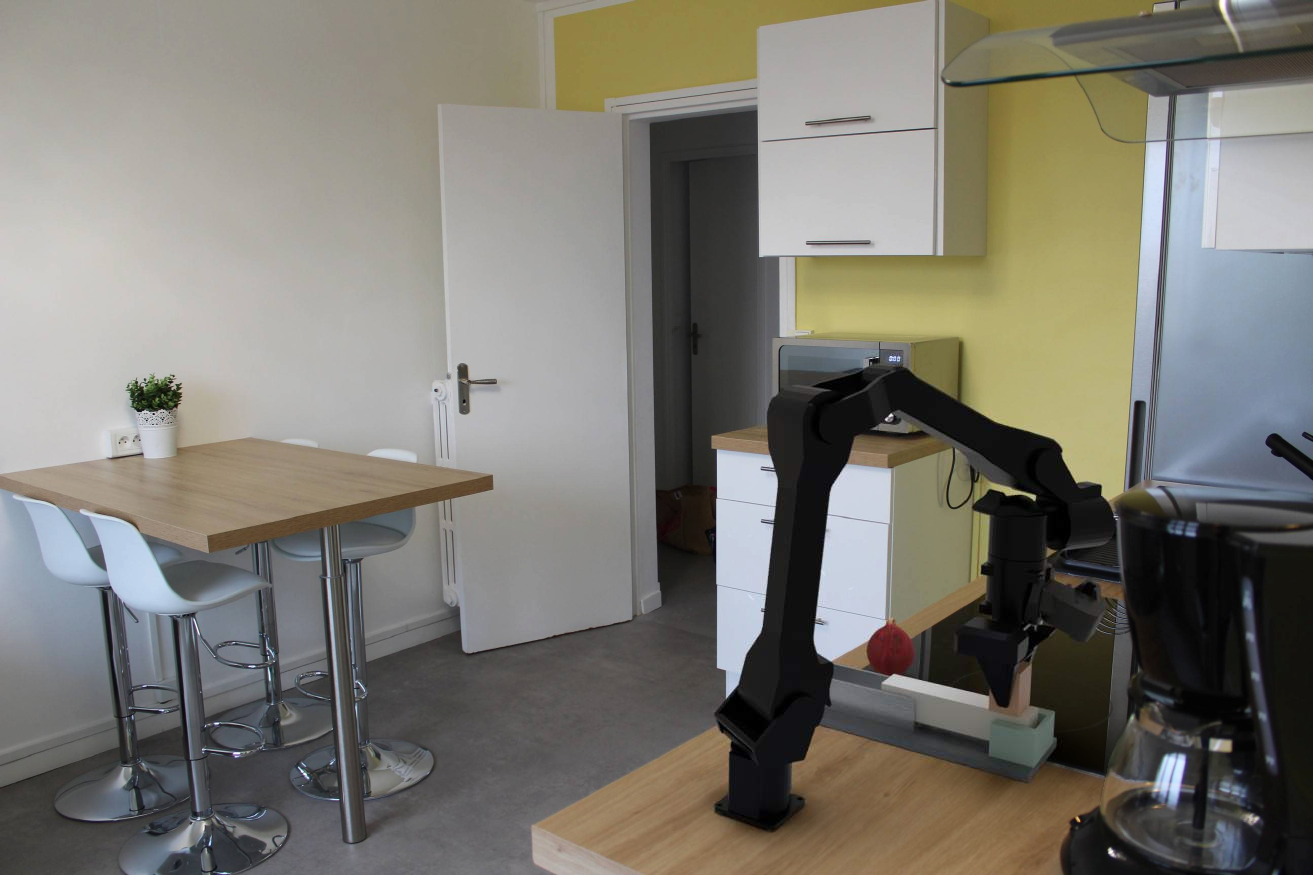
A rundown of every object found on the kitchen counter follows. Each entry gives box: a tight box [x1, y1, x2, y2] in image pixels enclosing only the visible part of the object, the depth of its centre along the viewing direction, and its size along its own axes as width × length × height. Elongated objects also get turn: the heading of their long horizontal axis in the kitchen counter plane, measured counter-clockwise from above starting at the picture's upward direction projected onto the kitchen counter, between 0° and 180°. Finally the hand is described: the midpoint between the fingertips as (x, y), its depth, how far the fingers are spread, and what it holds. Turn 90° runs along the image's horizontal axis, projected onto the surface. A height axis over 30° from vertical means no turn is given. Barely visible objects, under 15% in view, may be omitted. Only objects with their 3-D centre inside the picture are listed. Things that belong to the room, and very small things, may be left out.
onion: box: [866, 617, 915, 676], centre depth 126 cm, size 6×6×8 cm
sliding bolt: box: [881, 661, 1039, 740], centre depth 109 cm, size 4×16×8 cm, turn 54°
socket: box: [989, 704, 1056, 768], centre depth 105 cm, size 7×4×4 cm, turn 144°
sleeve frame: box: [819, 662, 1058, 784], centre depth 111 cm, size 10×26×4 cm, turn 54°
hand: (1009, 700), depth 105 cm, fingers closed on sliding bolt, 4 cm apart
